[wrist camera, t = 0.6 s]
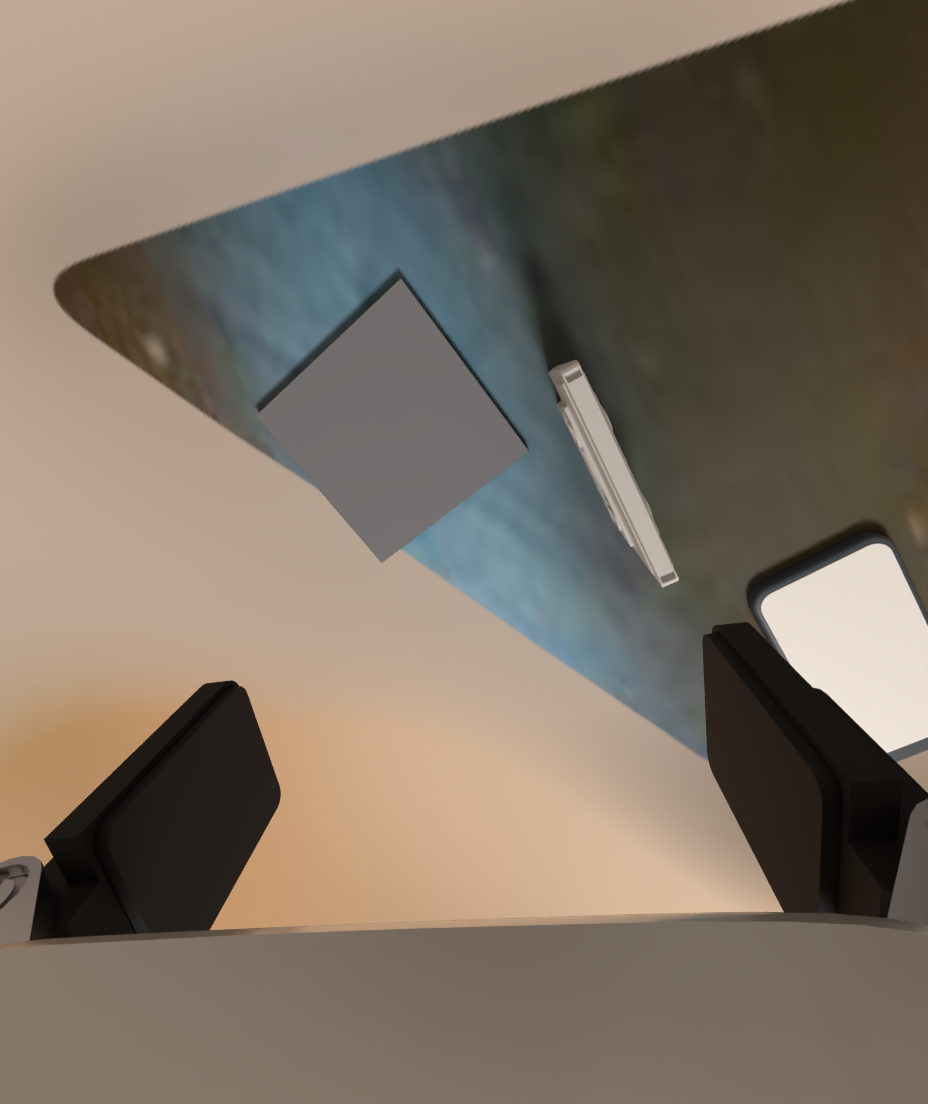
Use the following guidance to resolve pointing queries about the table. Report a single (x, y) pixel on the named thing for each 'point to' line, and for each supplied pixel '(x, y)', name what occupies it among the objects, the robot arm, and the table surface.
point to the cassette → (610, 469)
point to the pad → (392, 424)
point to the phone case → (855, 636)
